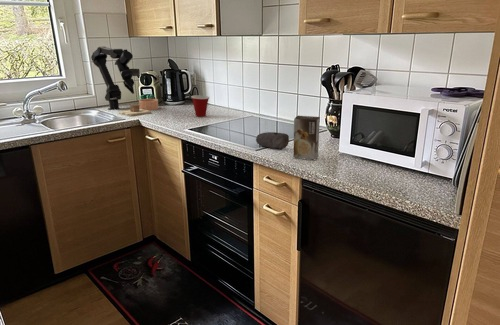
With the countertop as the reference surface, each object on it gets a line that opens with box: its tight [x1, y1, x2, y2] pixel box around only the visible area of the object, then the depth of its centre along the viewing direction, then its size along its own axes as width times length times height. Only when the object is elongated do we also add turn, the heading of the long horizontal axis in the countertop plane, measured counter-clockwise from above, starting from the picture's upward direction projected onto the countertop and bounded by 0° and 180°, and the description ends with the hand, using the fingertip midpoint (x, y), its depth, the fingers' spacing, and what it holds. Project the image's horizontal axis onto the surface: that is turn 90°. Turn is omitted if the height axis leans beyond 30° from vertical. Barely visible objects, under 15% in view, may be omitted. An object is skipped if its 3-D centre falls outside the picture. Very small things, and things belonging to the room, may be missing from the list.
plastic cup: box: [190, 94, 210, 118], centre depth 226 cm, size 11×11×12 cm
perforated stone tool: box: [255, 131, 290, 150], centre depth 162 cm, size 15×5×7 cm, turn 59°
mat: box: [118, 112, 151, 118], centre depth 234 cm, size 15×15×1 cm
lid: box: [118, 103, 152, 117], centre depth 233 cm, size 14×14×5 cm
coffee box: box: [292, 115, 321, 160], centre depth 147 cm, size 9×6×16 cm
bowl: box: [138, 98, 160, 111], centre depth 248 cm, size 12×12×6 cm
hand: (132, 91), depth 229 cm, fingers open, 9 cm apart
